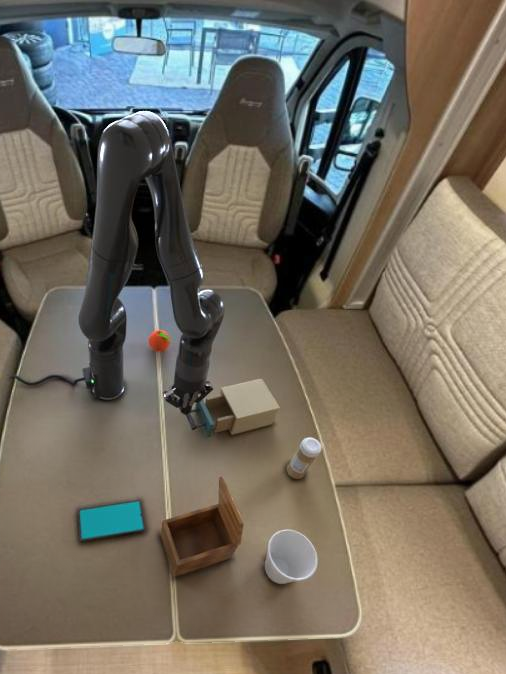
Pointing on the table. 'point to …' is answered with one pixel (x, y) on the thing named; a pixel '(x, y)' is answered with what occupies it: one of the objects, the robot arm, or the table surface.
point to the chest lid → (230, 511)
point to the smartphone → (110, 520)
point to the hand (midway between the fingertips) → (184, 411)
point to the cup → (290, 557)
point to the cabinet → (250, 405)
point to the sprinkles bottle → (304, 457)
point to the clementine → (159, 340)
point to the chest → (197, 539)
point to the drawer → (212, 415)
